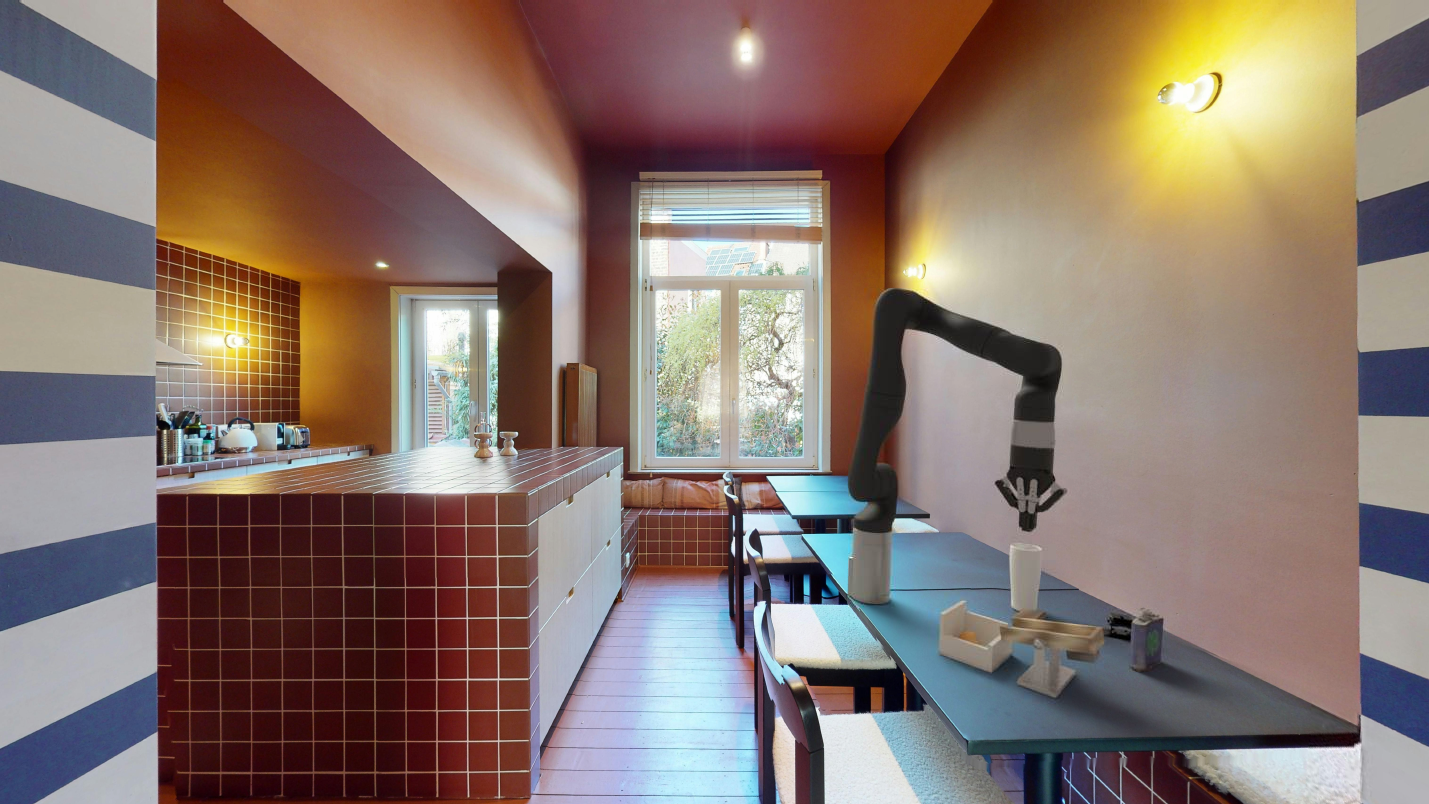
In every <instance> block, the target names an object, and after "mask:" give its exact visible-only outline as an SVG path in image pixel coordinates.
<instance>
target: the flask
mask: <svg viewBox="0 0 1429 804" xmlns="http://www.w3.org/2000/svg"><path fill="white" fill-rule="evenodd" d="M1141 610H1142V611H1141ZM1139 611H1141V614H1140V616H1137V617H1136V618H1134V619H1132V620H1133V621H1132V627H1131V629H1132V631H1131V641H1130V651H1129V652H1130V653H1129V668H1130V669H1131V670H1133V671H1137V672H1138V673H1140V672H1146V671H1147V670H1149V669H1153V667H1155V666H1156V665H1158V666H1159V665H1160V664H1161V663H1162V646H1163V635H1164V634H1163V631H1164V617H1163V616H1161V615H1159V614H1158V613H1157V614H1156V613H1154V612H1153V611H1150V609H1148V608H1145V607H1140V608H1139Z"/></svg>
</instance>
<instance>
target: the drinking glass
mask: <svg viewBox="0 0 1429 804" xmlns="http://www.w3.org/2000/svg"><path fill="white" fill-rule="evenodd" d="M1009 546H1010V548H1009V577H1010V597H1011V598H1010V600H1011V601H1010V606H1011V608H1012V609H1013V610H1014V611H1018V612H1020V611H1021V610H1022V609H1028V610H1037V609H1038V608H1037V607H1038V605H1037V604H1038V597H1039V589H1040V588H1039V587H1040V581H1041V575H1042V570H1043V569H1042V566H1043V549H1042V548H1041V547H1039V546H1037V545H1034V544H1030V543H1029V544H1028V543H1020V542H1016V543H1015V542H1014V543H1011V544H1010V545H1009Z"/></svg>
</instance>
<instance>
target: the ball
mask: <svg viewBox="0 0 1429 804" xmlns="http://www.w3.org/2000/svg"><path fill="white" fill-rule="evenodd" d="M959 639H962V640H965V641H968V642H971V643H974V644H977V645H978V638H977V636H976V635H975V634H974V633H973V632H971V631H963V632H962V633H961V634H960V635H959Z"/></svg>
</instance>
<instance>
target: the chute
mask: <svg viewBox="0 0 1429 804" xmlns="http://www.w3.org/2000/svg"><path fill="white" fill-rule="evenodd" d="M1045 618H1046V611H1045V610H1037V609H1036V610H1028V609H1022V610H1021V611H1018V612H1017V613H1016V614H1014V615H1013V616H1012V617H1011V626H1009V625H1008V626H1000V634H1001V641H1007V642H1012V643H1016V644H1023V645H1029V646H1034V645H1033V643H1034V642H1035V639H1036V638H1039V639H1043V640H1046V641H1047V646H1046V648H1049V649H1050V648H1055V649H1061V651H1063V650H1064V651H1065V654H1066V658H1067V660H1071V661H1076V662H1077V661H1078V662H1084V663H1088V664H1089V663H1090V664H1095V663H1096V662H1097V661H1098V660H1099V658H1100V657H1101V653H1100V649H1101V648H1102V646H1103V645H1104V643H1105V637H1104V634H1103V629H1102V628H1103V627H1102V626H1094V625H1088V624H1087V625H1085V624H1079V623H1078V624H1076V623H1069V622H1061V621H1052V620H1045Z"/></svg>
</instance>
